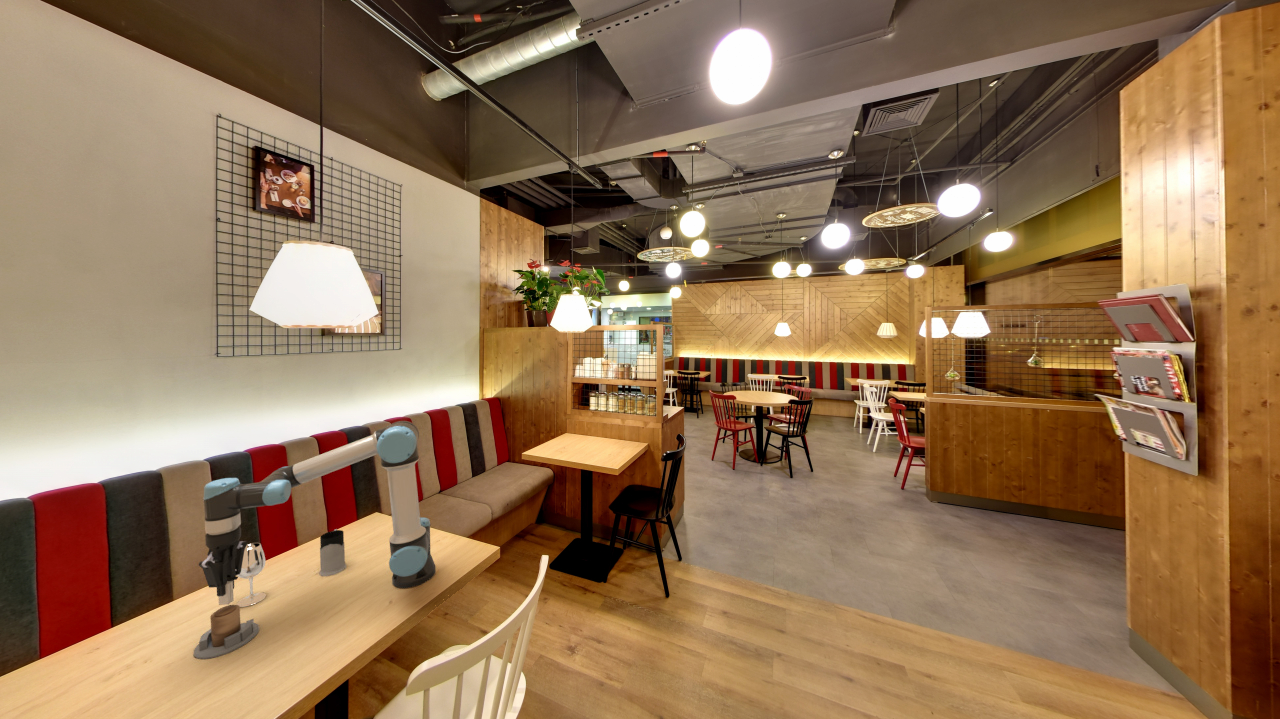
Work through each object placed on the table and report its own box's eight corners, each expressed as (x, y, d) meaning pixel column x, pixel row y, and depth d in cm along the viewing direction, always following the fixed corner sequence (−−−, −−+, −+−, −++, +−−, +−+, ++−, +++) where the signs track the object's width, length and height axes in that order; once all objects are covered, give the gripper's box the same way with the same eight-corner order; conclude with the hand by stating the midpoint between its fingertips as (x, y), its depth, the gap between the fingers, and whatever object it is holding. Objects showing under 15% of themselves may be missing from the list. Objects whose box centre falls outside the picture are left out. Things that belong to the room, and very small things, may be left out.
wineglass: (270, 596, 141) (269, 544, 141) (242, 610, 134) (240, 554, 134) (260, 590, 145) (258, 539, 144) (232, 603, 138) (229, 549, 137)
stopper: (246, 631, 123) (245, 602, 123) (227, 646, 117) (225, 616, 117) (226, 631, 123) (224, 603, 123) (205, 647, 117) (203, 617, 116)
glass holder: (317, 578, 152) (316, 542, 152) (324, 561, 165) (323, 527, 164) (344, 572, 157) (343, 536, 156) (349, 555, 169) (348, 522, 169)
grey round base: (271, 623, 128) (270, 613, 128) (230, 657, 114) (229, 646, 114) (225, 625, 127) (225, 615, 127) (178, 660, 113) (178, 649, 113)
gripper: (231, 520, 125) (233, 589, 126) (186, 540, 112) (190, 618, 113) (255, 519, 126) (258, 588, 127) (214, 539, 113) (218, 617, 114)
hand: (226, 602), depth 120 cm, fingers closed
